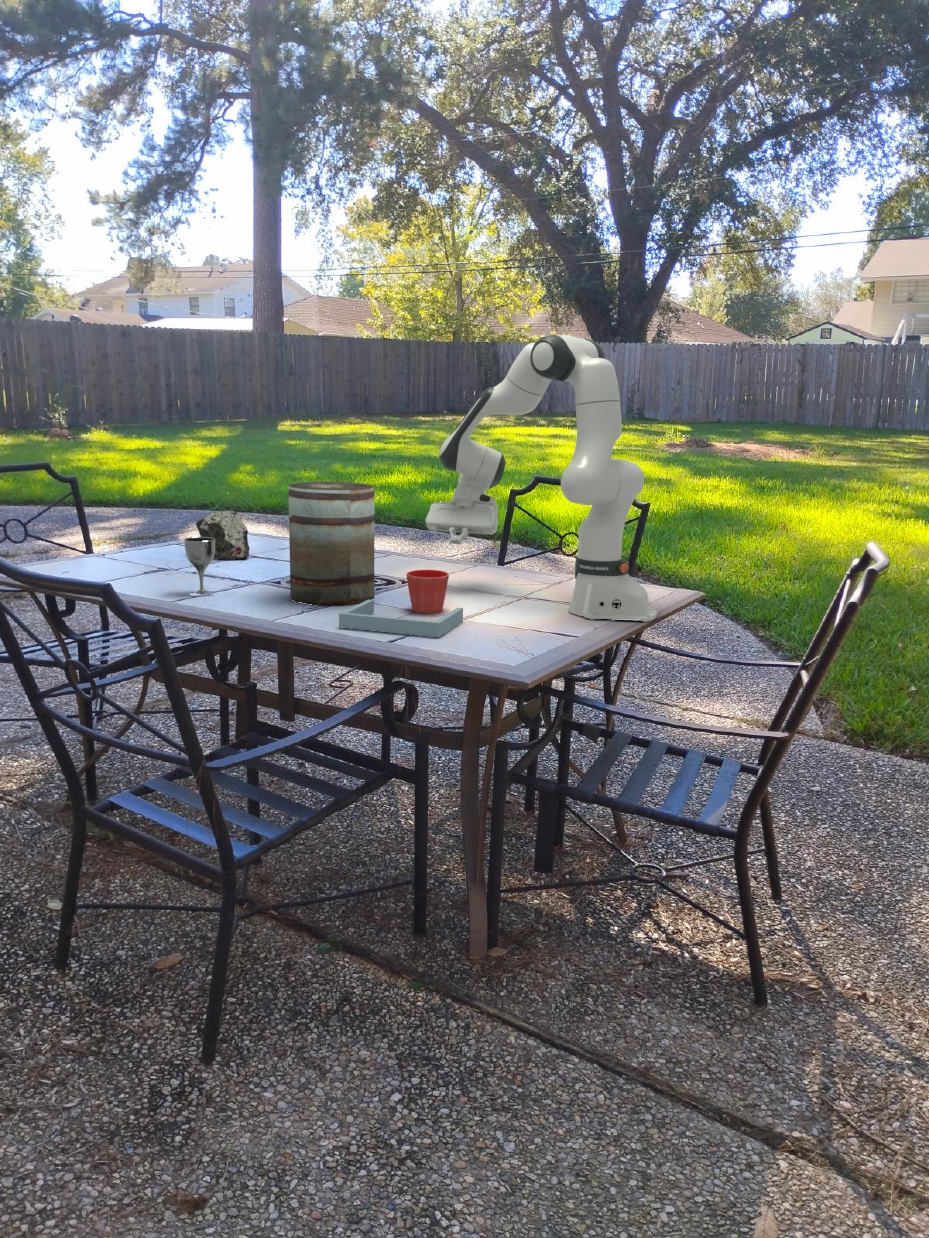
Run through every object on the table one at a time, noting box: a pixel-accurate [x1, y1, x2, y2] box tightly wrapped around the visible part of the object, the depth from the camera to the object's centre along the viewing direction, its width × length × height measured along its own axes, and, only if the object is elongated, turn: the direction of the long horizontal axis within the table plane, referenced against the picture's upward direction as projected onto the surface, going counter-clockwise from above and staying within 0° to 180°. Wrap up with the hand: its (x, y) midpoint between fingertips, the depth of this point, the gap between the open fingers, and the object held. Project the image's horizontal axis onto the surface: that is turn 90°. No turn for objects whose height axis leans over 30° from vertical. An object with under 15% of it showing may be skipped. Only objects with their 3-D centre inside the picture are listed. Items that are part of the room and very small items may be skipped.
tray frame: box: [338, 599, 464, 638], centre depth 239 cm, size 25×18×4 cm
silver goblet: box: [184, 536, 215, 594], centre depth 268 cm, size 8×8×15 cm
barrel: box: [288, 481, 375, 607], centre depth 266 cm, size 22×22×30 cm
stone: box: [195, 510, 250, 561], centre depth 327 cm, size 19×18×15 cm
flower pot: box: [405, 569, 450, 614], centre depth 255 cm, size 11×11×10 cm
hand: (455, 542), depth 274 cm, fingers closed
